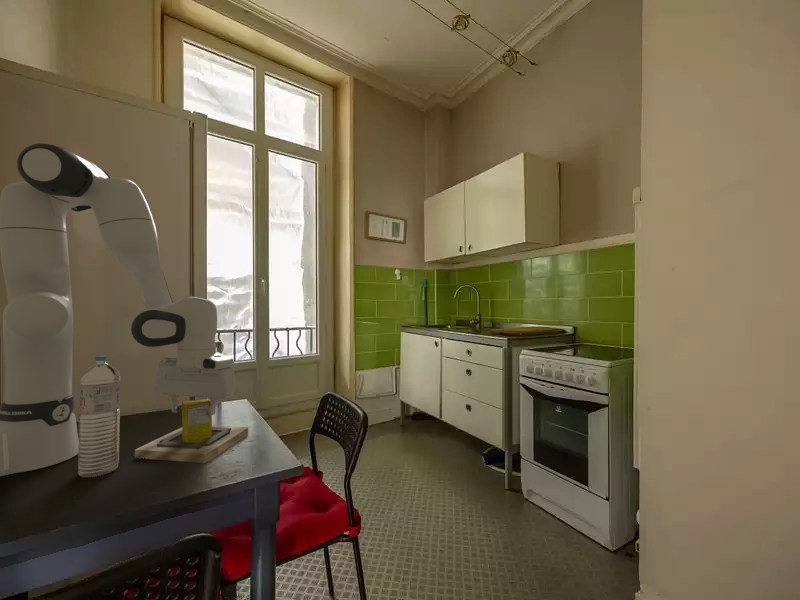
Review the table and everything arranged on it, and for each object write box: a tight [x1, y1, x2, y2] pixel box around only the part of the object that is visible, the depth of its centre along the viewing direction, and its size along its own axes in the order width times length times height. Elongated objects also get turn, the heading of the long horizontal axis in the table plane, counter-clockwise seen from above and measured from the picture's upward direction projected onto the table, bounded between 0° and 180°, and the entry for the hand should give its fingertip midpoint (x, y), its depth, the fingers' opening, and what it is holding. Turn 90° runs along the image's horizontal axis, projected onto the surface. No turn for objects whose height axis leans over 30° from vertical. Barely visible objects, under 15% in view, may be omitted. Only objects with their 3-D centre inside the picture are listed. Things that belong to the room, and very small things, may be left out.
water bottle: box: [77, 355, 121, 479], centre depth 78 cm, size 7×7×25 cm
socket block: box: [134, 424, 249, 464], centre depth 92 cm, size 18×18×2 cm
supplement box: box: [181, 397, 213, 443], centre depth 93 cm, size 6×6×11 cm
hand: (193, 413), depth 92 cm, fingers open, 8 cm apart
